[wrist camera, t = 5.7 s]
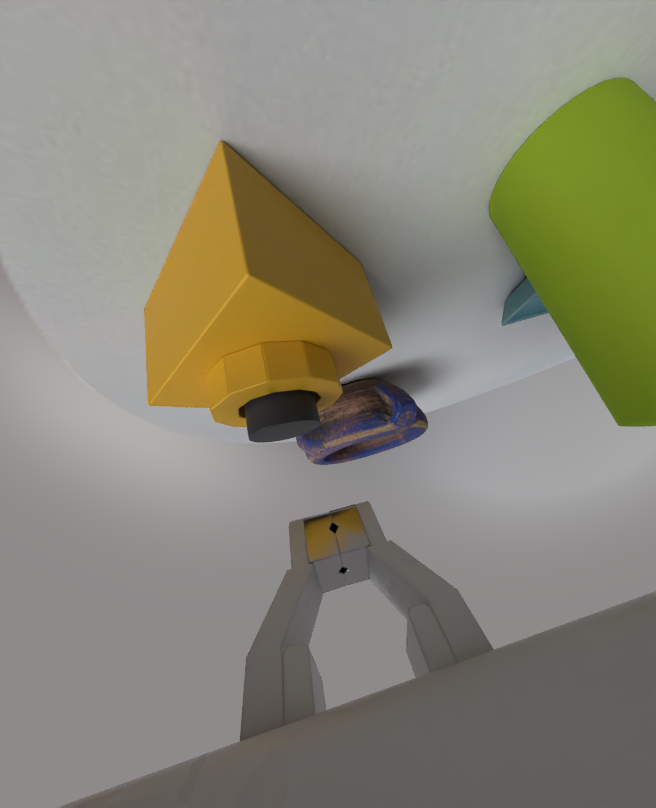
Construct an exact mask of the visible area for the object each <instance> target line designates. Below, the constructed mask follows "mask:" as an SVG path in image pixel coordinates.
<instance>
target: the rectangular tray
mask: <svg viewBox="0 0 656 808" xmlns="http://www.w3.org/2000/svg"><path fill="white" fill-rule="evenodd" d="M546 313H549V312H548V310H547V309H546V307H545V306H544V304H543V302H542V301H541V299H540V297H539V296H538V294H537V293H536V291H535V289H534V288H533V286H532V284H531V283H530V281H529V280H528V278H526V279H525V280H524V281H523V282H522V283H521V284H520V285H519V286H518V288H517V289H516V290H515V291H514V292H513V293H512V294H511V295H510V296H509V297H508V298H507V300H506V302H505V306H504V311H503V317H502V324H501V325H508V324H511V323H514V322H518V321H521V320H525V319H528V318H532V317H535V316H539V315H542V314H546Z"/></svg>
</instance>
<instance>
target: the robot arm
mask: <svg viewBox="0 0 656 808" xmlns="http://www.w3.org/2000/svg"><path fill="white" fill-rule="evenodd" d="M289 536H290V551H291V565H292V566H291V567H292V569H290V570H287V572H286V574H285V576H284V579H283V581H282V583H281V585H280V587H279V589H278V591H277V593H276V595H275V598H274V600H273V602H272V604H271V606H270V608H269V610H268V613H267V615H266V617H265V619H264V621H263V623H262V625H261V628H260V630H259V632H258V634H257V636H256V638H255V640H254V642H253V645H252V647H251V649H250V651H249V653H248V655H247V657H246V667H245V681H244V694H243V707H242V720H241V734H240V742H237V743H235V744H232V745H229V746H226V747H224V748H221V749H218V750H215V751H213V752H210V753H207V754H204V755H202V756H199V757H196V758H193V759H190V760H188V761H185V762H182V763H179V764H176V765H174V766H171V767H168V768H166V769H163V770H160V771H157V772H154V773H152V774H149V775H146V776H143V777H141V778H138V779H135V780H132V781H129V782H127V783H124V784H121V785H118V786H116V787H113V788H110V789H107V790H105V791H102V792H99V793H97V794H94V795H91V796H88V797H85V798H83V799H80V800H77V801H74V802H71V803H69V804H66V805H63V806H60V807H58V808H656V591H655V592H652V593H649V594H647V595H644V596H641V597H639V598H636V599H633V600H630V601H628V602H625V603H622V604H619V605H616V606H613V607H611V608H608V609H605V610H602V611H600V612H597V613H594V614H591V615H589V616H586V617H583V618H580V619H578V620H575V621H572V622H569V623H566V624H564V625H561V626H558V627H555V628H553V629H550V630H547V631H544V632H542V633H539V634H536V635H533V636H531V637H528V638H525V639H522V640H520V641H517V642H514V643H511V644H508V645H506V646H503V647H500V648H497V649H495V650H494V649H493V648H492V646H491V644H490V643H489V641H488V640H487V638H486V636H485V635H484V633H483V631H482V629H481V628H480V626H479V624H478V623H477V621H476V619H475V618H474V616H473V615H472V613H471V611H470V609H469V608H468V606H467V604H466V603H465V601H464V599H463V598H462V596H461V594H460V593H459V591H458V590H457V589H456V588H454V587H453V586H452V585H450V584H449V583H448V582H446V581H445V580H444V579H442V578H441V577H440V576H438V575H437V574H436V573H434V572H433V571H432V570H430V569H429V568H427V567H426V566H425V565H423V564H422V563H421V562H419V561H418V560H417V559H415V558H414V557H413V556H411V555H410V554H409V553H407V552H406V551H405V550H403V549H402V548H401V547H399V546H398V545H397V544H395V543H394V542H393V541H391V540H390V541H386V538H385V536H384V534H383V532H382V529H381V527H380V525H379V523H378V520H377V518H376V516H375V513H374V512H373V509H372V507H371V504H370V503H369V502H368V501H366V502H363V503H359V504H356V505H351V506H347V507H344V508H340V509H337V510H333V511H330V512H328V513H324V514H319V515H315V516H311V517H307V518H303V519H299V520H295V521H292V522H289ZM368 579H370V581H371V582H372V583H373V584H374V585H375V586H376V587H377V588H378V589H379V590H380V591H381V592H382V593H383V594H384V596H385V597H386V598H387V599H388V600H389V601H390V602H391V603H392V604H393V605H394V606H395V607H396V608H397V609H398V610H399V611H400V612H401V614H402V615H403V616H404V617H405V618H406V619H407V641H406V642H407V643H406V652H407V655H408V657H409V660H410V663H411V666H412V669H413V672H414V674H415V677H416V678H414V679H412V680H409V681H407V682H404V683H401V684H398V685H395V686H392V687H390V688H387V689H384V690H381V691H378V692H376V693H373V694H370V695H367V696H365V697H362V698H359V699H357V700H354V701H351V702H348V703H345V704H342V705H340V706H337V707H334V708H331V709H329V710H326V704H325V697H324V691H323V683H322V678H321V676H320V674H319V671H318V669H317V666H316V664H315V661H314V659H313V656H312V654H311V652H310V649H309V647H308V646H309V642H310V639H311V636H312V632H313V628H314V625H315V621H316V618H317V614H318V610H319V607H320V603H321V600H322V596H323V595H322V594H323V593H325V592H328V591H331V590H334V589H337V588H340V587H343V586H346V585H350V584H353V583H357V582H361V581H364V580H368Z"/></svg>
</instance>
